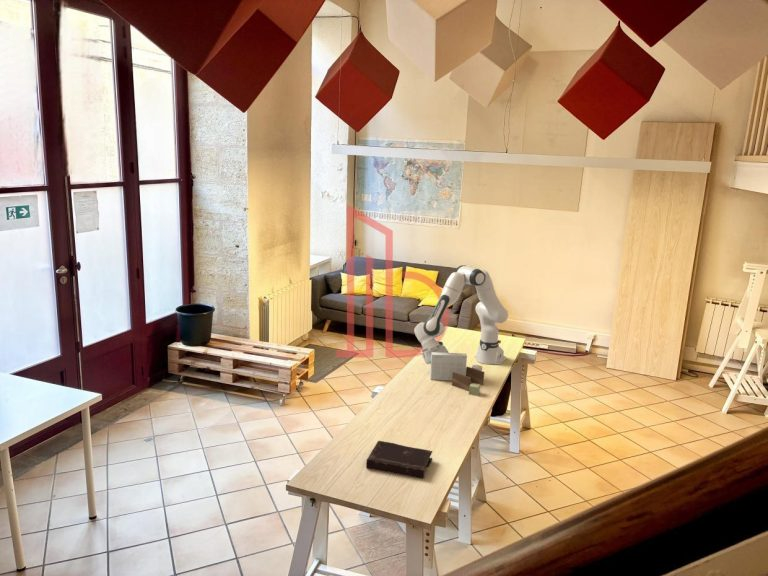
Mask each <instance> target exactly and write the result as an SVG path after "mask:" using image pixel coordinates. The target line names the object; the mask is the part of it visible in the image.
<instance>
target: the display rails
mask: <svg viewBox="0 0 768 576" xmlns="http://www.w3.org/2000/svg"><path fill="white" fill-rule="evenodd" d="M484 380H485V371H483V370H482V371H480V370H477V369H474V368H472V366H471V367H470V366H466V376H465V375H461V374H458V373H455V372H453V375H452V380H451V386H453V387H456V388H458V389H461V390H463V391H467V392H469V386H470V385H471V383H473V384H479V385H480V386H483V385H484V382H485V381H484Z"/></svg>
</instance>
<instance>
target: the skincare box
mask: <svg viewBox="0 0 768 576" xmlns="http://www.w3.org/2000/svg"><path fill="white" fill-rule="evenodd" d="M467 357H468V355H467V353H463V352H462V353H461V352H449V353H438V352H432V353H431V364H430V371H429V373H430V376H429V377H430V380H432V381H452V375H453V372H455V373H458V374H461V375H465V376H466V367H467V359H468V358H467Z"/></svg>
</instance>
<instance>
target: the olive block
mask: <svg viewBox="0 0 768 576" xmlns="http://www.w3.org/2000/svg"><path fill="white" fill-rule="evenodd" d="M480 390H481V385H480V384H477V383H474V382H471V383H470V386H469V391H468V395H470V396H476V397H478V396H479V394H480V392H481V391H480Z"/></svg>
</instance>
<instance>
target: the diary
mask: <svg viewBox="0 0 768 576" xmlns="http://www.w3.org/2000/svg"><path fill="white" fill-rule="evenodd" d="M432 454H433V450H428V449H422V448H417V447H412V446H406V445H402V444H398V443H394V442H390V441H389V442H388V441H383V440H377V442H376V443H375V445H374V447H373V449H372V450H371V452H370V453H369V456H368V457H367V459H366V461H365V463H366V464H365V465H366V466H365V468H366V469H370V470H375V471H381V472H387V473H391V474H398V475H402V476H408V477H414V478H418V479H422V480H423V479H425V471H426V469H427V468H429V467H430V465H431V463H432V461H433V457H431V456H432Z"/></svg>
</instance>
